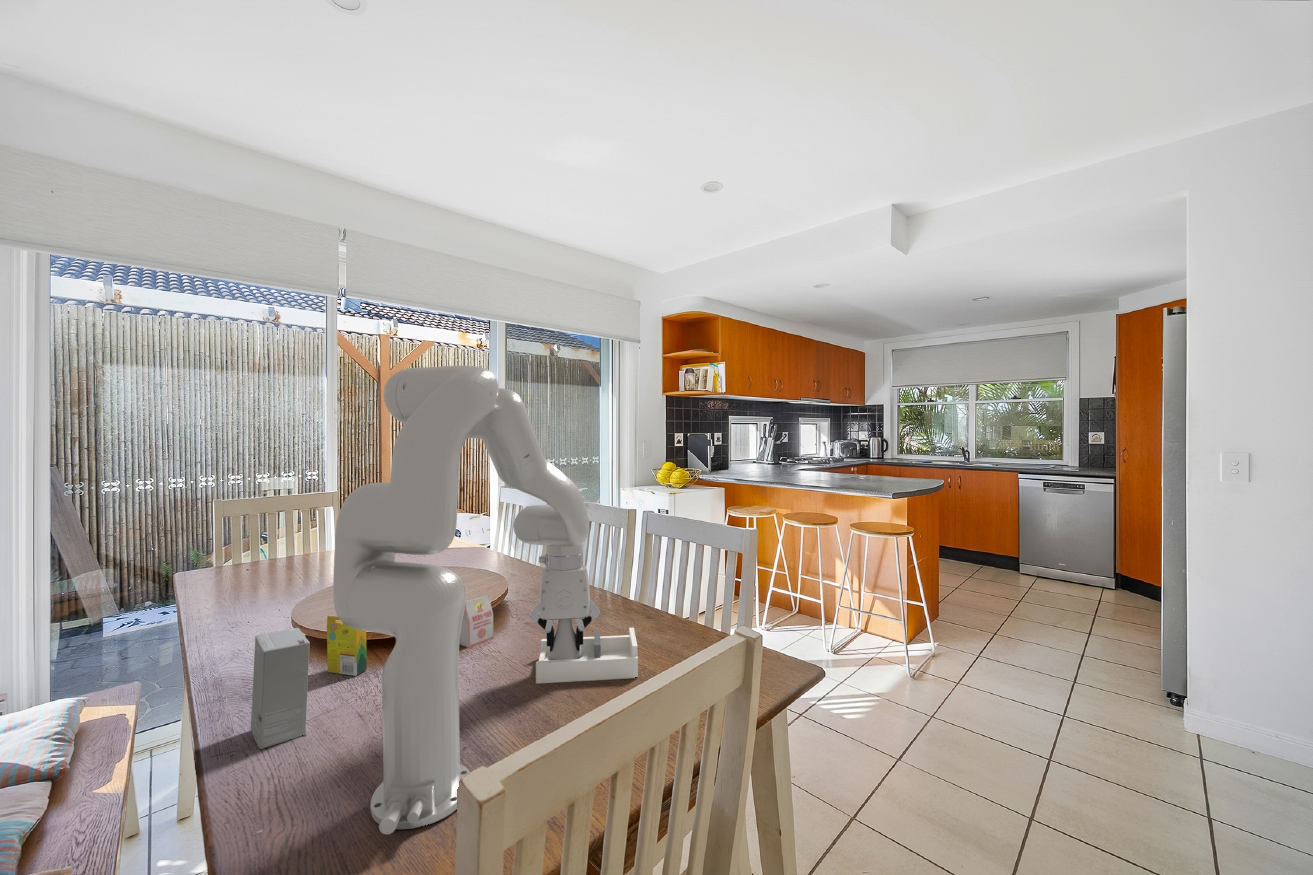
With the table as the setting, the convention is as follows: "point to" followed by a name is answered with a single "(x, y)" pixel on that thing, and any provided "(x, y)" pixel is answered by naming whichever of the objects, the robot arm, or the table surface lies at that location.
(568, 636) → the flask
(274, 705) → the skincare box
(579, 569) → the robot arm
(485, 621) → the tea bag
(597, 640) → the pusher
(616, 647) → the tray
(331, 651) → the crayon box
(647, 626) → the table surface
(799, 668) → the table surface
